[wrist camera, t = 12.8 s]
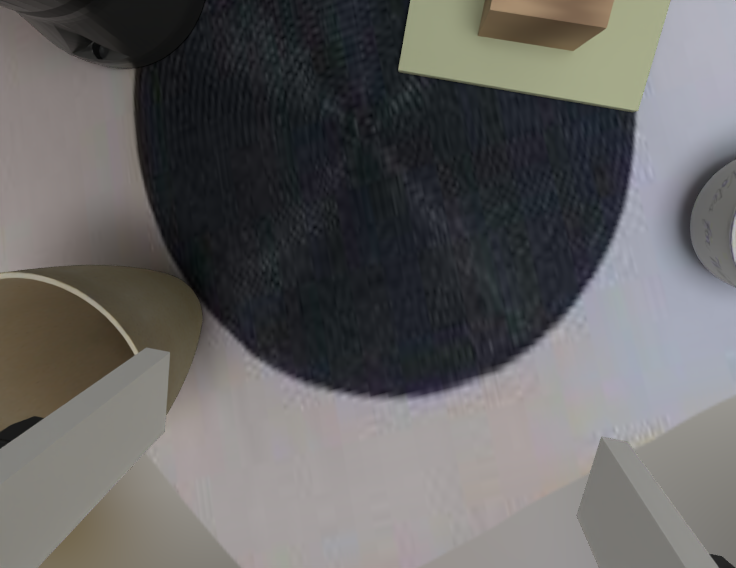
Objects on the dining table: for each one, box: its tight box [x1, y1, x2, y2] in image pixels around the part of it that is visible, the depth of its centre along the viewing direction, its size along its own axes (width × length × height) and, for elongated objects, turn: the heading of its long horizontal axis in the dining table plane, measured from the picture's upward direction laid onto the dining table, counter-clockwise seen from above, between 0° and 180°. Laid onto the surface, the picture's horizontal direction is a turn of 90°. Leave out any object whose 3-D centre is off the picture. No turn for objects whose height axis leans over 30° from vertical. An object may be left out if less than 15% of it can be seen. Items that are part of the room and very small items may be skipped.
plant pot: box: [0, 265, 202, 474], centre depth 39 cm, size 15×15×16 cm
